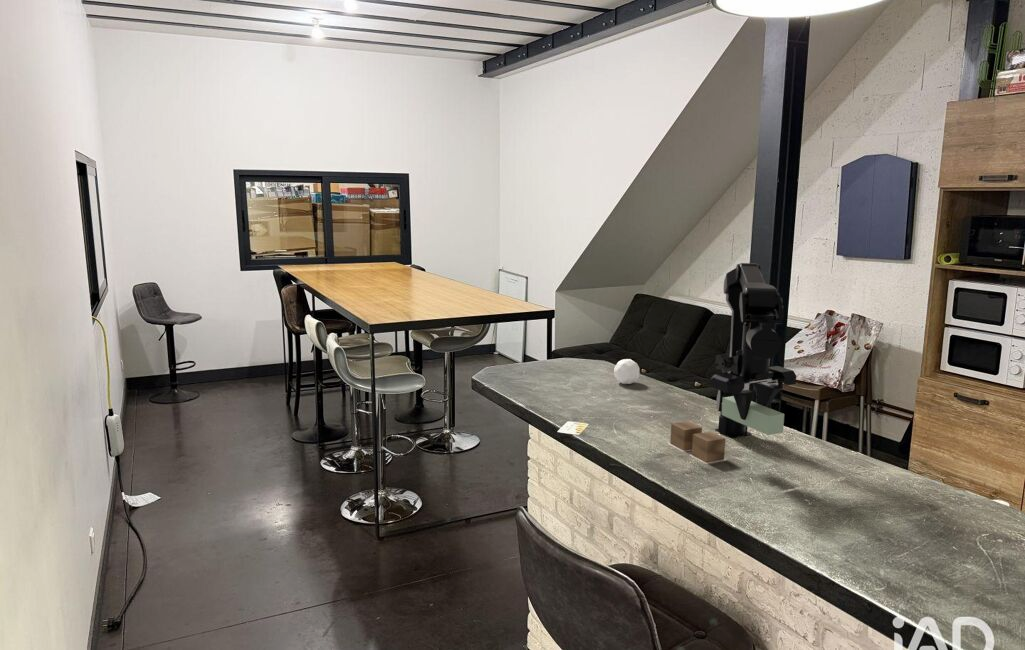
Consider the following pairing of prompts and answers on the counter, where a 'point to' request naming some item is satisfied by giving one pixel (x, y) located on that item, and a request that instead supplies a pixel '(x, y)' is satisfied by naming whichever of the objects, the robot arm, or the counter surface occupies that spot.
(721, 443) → the tan wood block
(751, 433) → the robot arm
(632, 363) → the white faceted ovoid
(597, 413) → the counter surface
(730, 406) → the plank
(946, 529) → the counter surface
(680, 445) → the brown wooden cube
